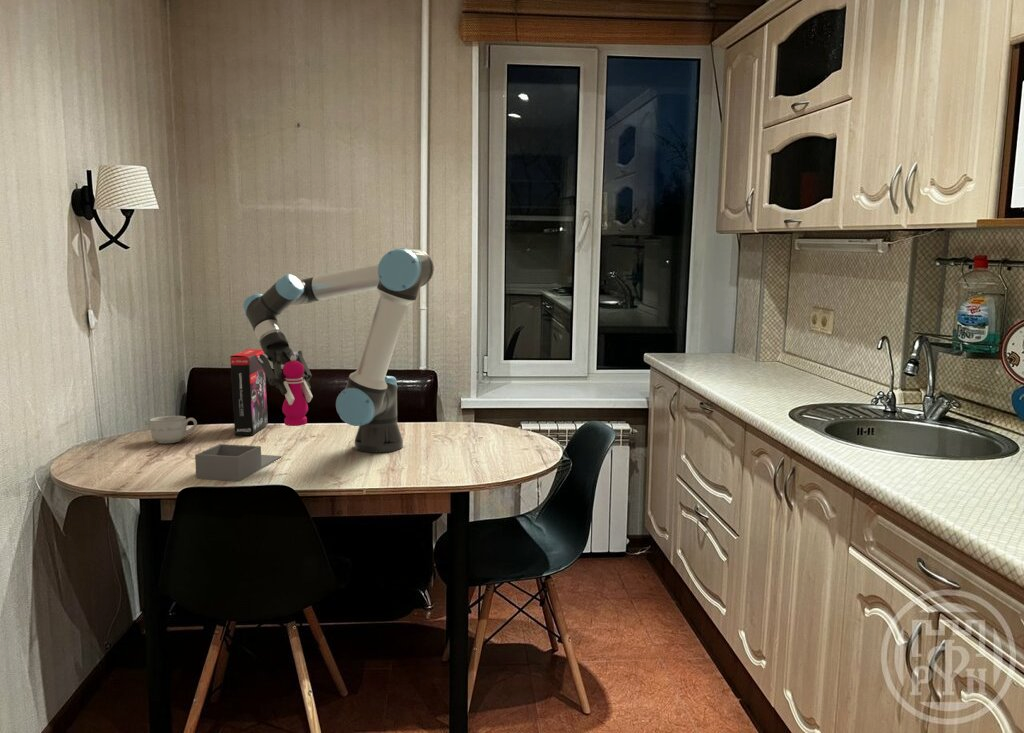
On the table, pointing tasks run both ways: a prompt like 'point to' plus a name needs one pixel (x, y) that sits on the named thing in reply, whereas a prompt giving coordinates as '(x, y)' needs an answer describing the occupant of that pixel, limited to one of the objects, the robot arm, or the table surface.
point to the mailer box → (231, 462)
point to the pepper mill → (295, 394)
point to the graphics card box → (248, 392)
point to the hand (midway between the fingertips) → (301, 400)
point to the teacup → (170, 428)
